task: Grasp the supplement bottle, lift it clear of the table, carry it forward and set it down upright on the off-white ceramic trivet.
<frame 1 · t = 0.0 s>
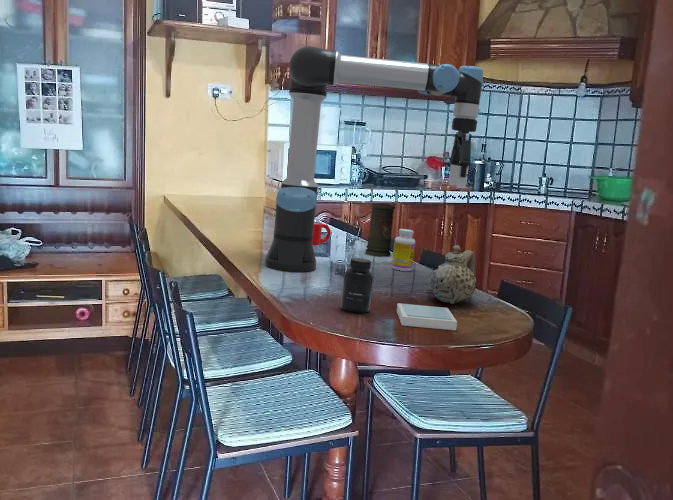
hand: (456, 186, 206), 28 cm above the table, fingers open, 13 cm apart
mug: (314, 244, 245), on the table
trivet: (425, 320, 150), on the table
teapot: (451, 302, 172), on the table
container: (377, 254, 235), on the table
supplement bottle 2: (401, 270, 210), on the table
supplement bottle: (355, 310, 154), on the table
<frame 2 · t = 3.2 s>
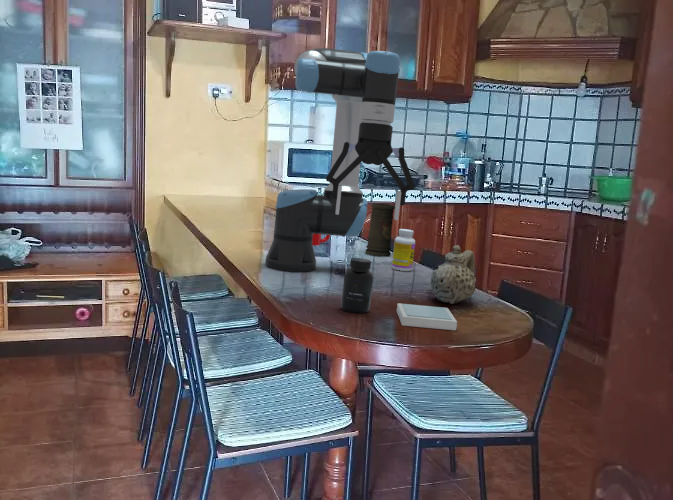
hand: (366, 216, 150), 22 cm above the table, fingers open, 13 cm apart
nothing on the table moved.
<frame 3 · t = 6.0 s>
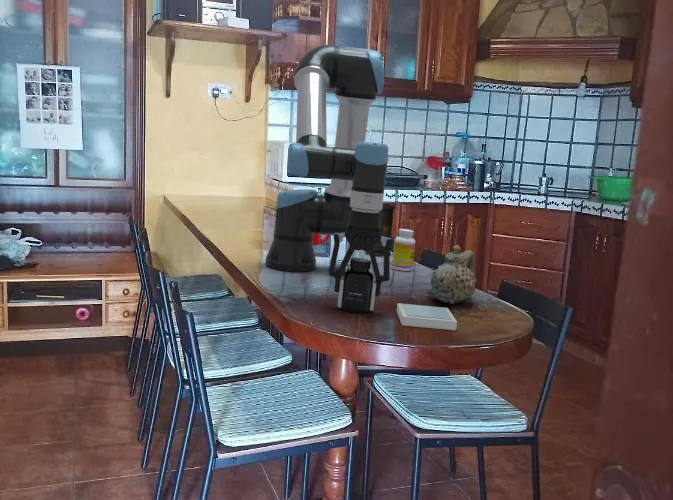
hand: (355, 307, 153), 1 cm above the table, fingers closed on supplement bottle, 7 cm apart
supplement bottle: (355, 310, 154), on the table, touching gripper
everything else where it was.
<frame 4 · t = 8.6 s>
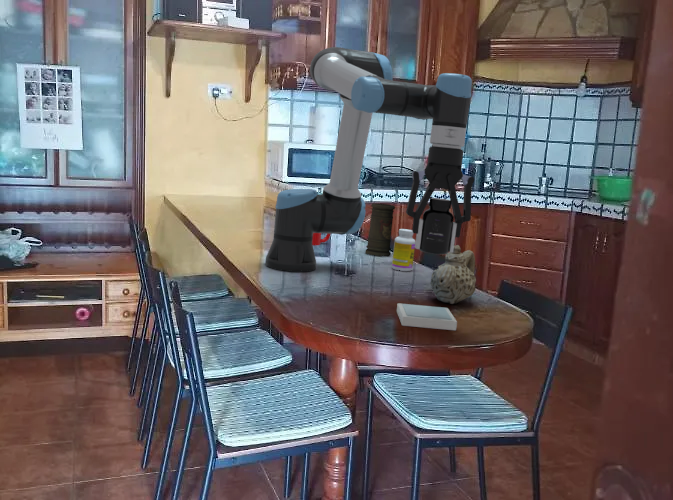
hand: (433, 249, 147), 17 cm above the table, fingers closed on supplement bottle, 7 cm apart
supplement bottle: (433, 252, 147), point 16 cm above the table, touching gripper
everything else where it was.
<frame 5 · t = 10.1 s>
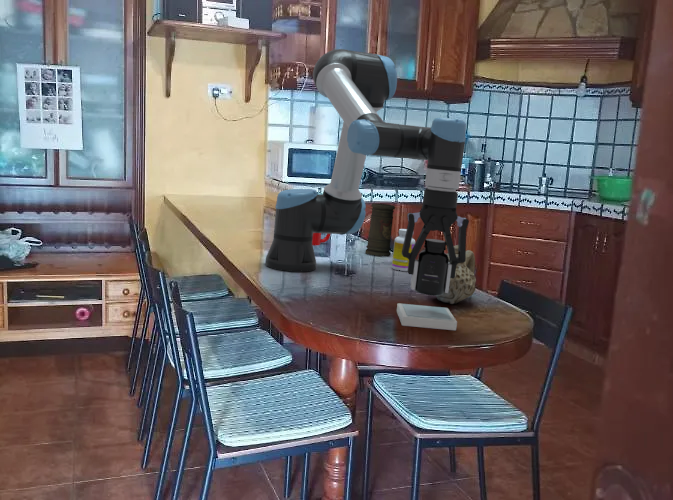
hand: (429, 290, 149), 7 cm above the table, fingers closed on supplement bottle, 7 cm apart
supplement bottle: (428, 293, 149), point 6 cm above the table, touching gripper
everything else where it was.
when the fingers open (4 cm above the table, at t = 11.2 s): supplement bottle drops 1 cm, resting on trivet.
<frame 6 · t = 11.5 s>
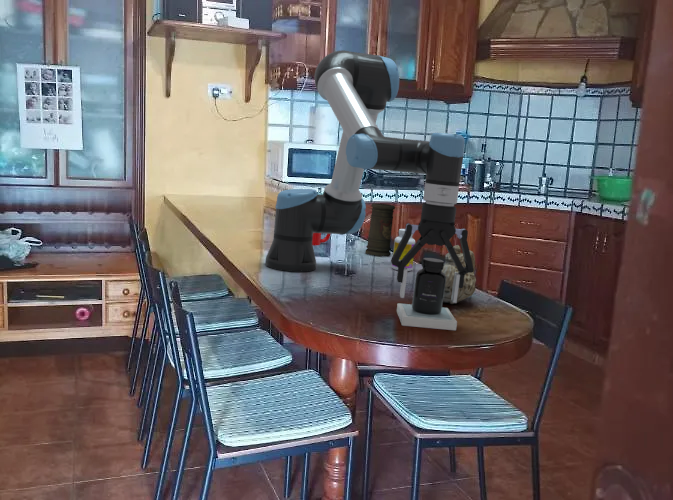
hand: (427, 299, 149), 5 cm above the table, fingers open, 11 cm apart
supplement bottle: (426, 311, 150), point 2 cm above the table, touching trivet
everything else where it was.
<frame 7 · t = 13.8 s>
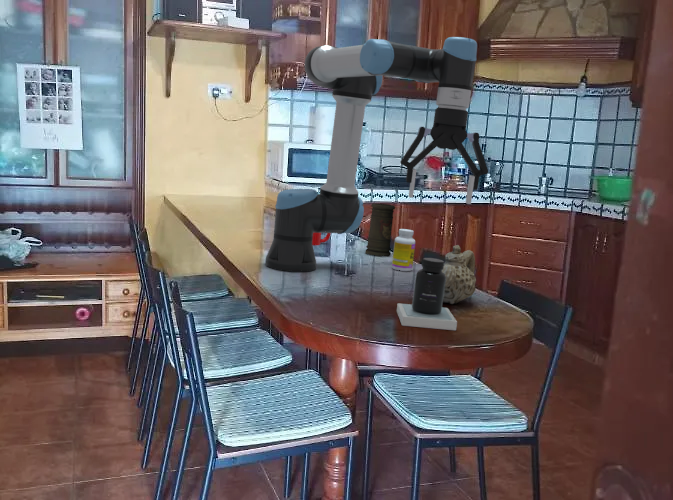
hand: (439, 200, 154), 27 cm above the table, fingers open, 13 cm apart
nothing on the table moved.
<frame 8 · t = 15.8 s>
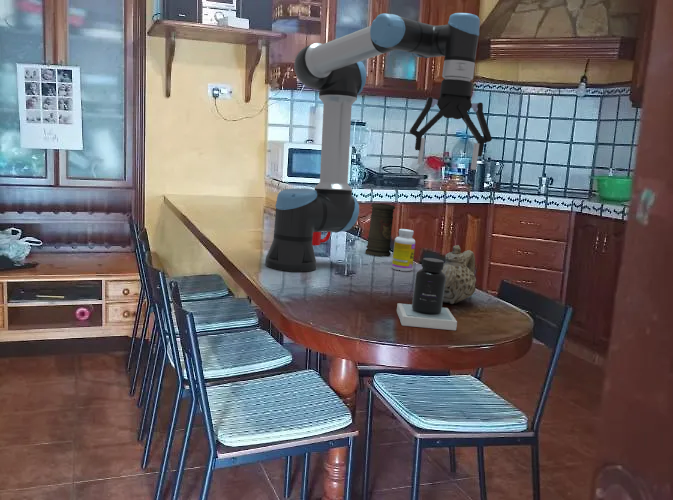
hand: (446, 167, 164), 35 cm above the table, fingers open, 13 cm apart
nothing on the table moved.
at the end: supplement bottle inside the target area on the trivet (0.0 cm from its centre), point 2.1 cm above the trivet's base; supplement bottle tilted 0°; the gripper is holding nothing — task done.
